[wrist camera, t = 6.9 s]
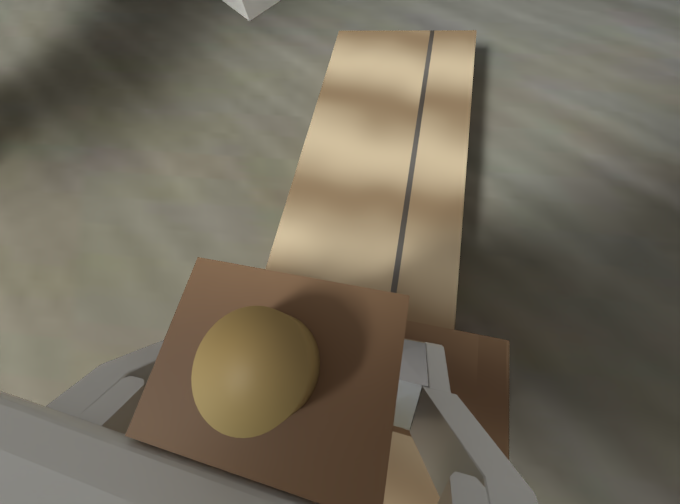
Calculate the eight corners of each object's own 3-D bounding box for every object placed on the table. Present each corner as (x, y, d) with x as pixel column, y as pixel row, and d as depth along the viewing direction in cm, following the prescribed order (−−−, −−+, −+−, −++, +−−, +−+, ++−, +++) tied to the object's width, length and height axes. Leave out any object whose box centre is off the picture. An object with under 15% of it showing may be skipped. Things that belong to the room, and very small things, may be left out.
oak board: (425, 552, 11) (435, 592, 10) (219, 479, 13) (194, 500, 11) (467, 59, 21) (476, 30, 19) (342, 57, 23) (339, 30, 21)
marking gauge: (470, 432, 12) (1093, 954, 2) (224, 366, 15) (-174, 404, 4) (474, 343, 14) (840, 312, 3) (247, 296, 16) (-11, 185, 5)
